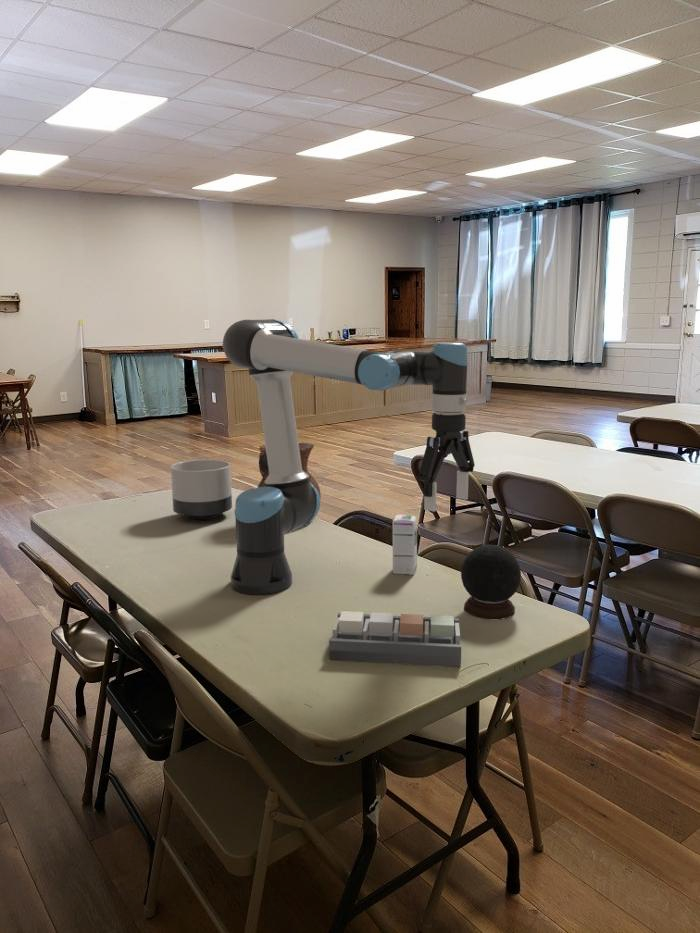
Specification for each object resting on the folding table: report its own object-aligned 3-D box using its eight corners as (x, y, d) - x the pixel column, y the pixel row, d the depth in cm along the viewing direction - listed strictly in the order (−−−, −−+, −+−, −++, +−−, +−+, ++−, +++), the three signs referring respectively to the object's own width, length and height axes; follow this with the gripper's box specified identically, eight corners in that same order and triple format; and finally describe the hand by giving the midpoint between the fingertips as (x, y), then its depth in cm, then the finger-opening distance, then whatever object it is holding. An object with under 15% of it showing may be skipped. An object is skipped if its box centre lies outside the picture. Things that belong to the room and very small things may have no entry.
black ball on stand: (481, 625, 150) (483, 558, 147) (448, 603, 162) (450, 541, 159) (531, 615, 155) (534, 550, 152) (496, 594, 167) (499, 534, 164)
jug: (266, 508, 244) (264, 438, 239) (325, 510, 241) (325, 439, 236) (249, 526, 223) (246, 449, 218) (313, 529, 220) (312, 451, 215)
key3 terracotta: (399, 634, 137) (399, 623, 137) (400, 624, 141) (400, 613, 141) (422, 635, 137) (423, 624, 136) (423, 625, 141) (423, 614, 140)
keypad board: (329, 659, 135) (329, 638, 134) (338, 630, 147) (338, 611, 146) (460, 666, 132) (461, 645, 131) (458, 636, 145) (458, 616, 144)
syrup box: (414, 575, 180) (415, 521, 177) (391, 573, 181) (392, 519, 178) (417, 567, 185) (417, 515, 182) (394, 566, 186) (395, 513, 183)
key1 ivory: (338, 631, 138) (338, 620, 138) (341, 622, 143) (341, 611, 142) (361, 632, 138) (361, 621, 137) (363, 623, 142) (363, 612, 142)
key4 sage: (430, 636, 136) (430, 624, 136) (430, 626, 141) (430, 615, 140) (453, 637, 136) (454, 625, 135) (453, 627, 140) (453, 616, 140)
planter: (226, 525, 225) (224, 471, 221) (166, 524, 225) (163, 471, 222) (236, 509, 244) (235, 459, 240) (181, 509, 244) (179, 459, 240)
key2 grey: (369, 633, 138) (369, 621, 137) (371, 623, 142) (371, 612, 142) (392, 634, 137) (392, 622, 137) (393, 624, 142) (393, 613, 141)
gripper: (432, 419, 145) (429, 518, 149) (491, 408, 164) (487, 496, 168) (402, 416, 150) (401, 512, 154) (463, 406, 169) (460, 491, 173)
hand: (446, 504), depth 161 cm, fingers open, 13 cm apart
